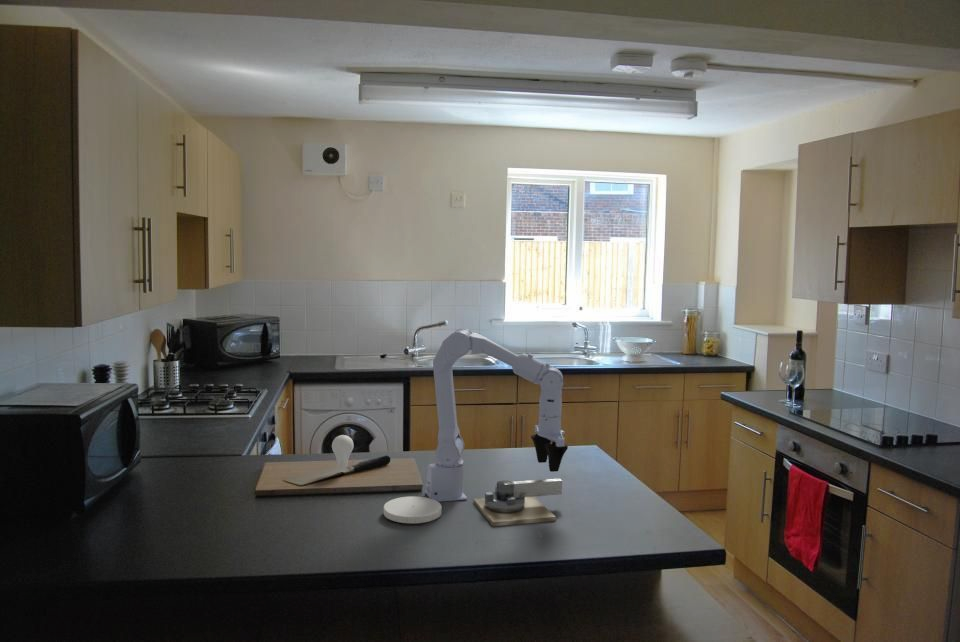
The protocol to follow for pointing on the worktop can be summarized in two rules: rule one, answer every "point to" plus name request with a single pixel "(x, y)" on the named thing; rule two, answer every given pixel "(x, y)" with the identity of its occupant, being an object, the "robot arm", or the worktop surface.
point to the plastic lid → (412, 509)
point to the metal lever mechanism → (519, 494)
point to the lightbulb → (342, 449)
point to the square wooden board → (517, 513)
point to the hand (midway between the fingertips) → (547, 466)
